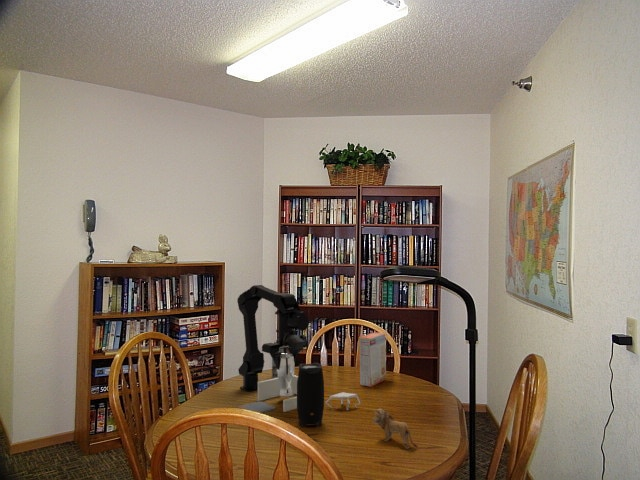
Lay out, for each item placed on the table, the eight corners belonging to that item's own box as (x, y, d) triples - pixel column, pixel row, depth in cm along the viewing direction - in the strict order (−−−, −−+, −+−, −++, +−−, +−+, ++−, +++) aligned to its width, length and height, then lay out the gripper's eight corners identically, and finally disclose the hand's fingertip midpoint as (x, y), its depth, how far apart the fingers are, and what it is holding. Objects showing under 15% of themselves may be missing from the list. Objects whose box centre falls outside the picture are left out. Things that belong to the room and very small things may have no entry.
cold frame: (257, 400, 183) (257, 382, 183) (291, 391, 194) (292, 374, 195) (284, 411, 170) (284, 392, 171) (319, 401, 182) (319, 383, 182)
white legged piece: (349, 402, 182) (349, 389, 182) (361, 408, 174) (361, 395, 174) (321, 407, 176) (321, 393, 176) (332, 414, 169) (332, 400, 169)
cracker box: (374, 377, 215) (374, 331, 215) (386, 380, 212) (386, 333, 212) (358, 385, 204) (358, 336, 204) (370, 387, 200) (370, 338, 200)
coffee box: (286, 383, 206) (286, 345, 207) (271, 383, 206) (271, 345, 207) (288, 377, 216) (288, 341, 216) (273, 377, 216) (274, 341, 216)
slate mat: (237, 408, 174) (237, 406, 174) (260, 402, 181) (260, 401, 181) (253, 415, 167) (253, 414, 167) (276, 409, 173) (276, 407, 173)
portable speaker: (320, 429, 154) (320, 369, 154) (292, 426, 157) (293, 367, 157) (327, 420, 162) (327, 363, 162) (301, 417, 165) (301, 361, 165)
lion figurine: (370, 439, 147) (370, 409, 147) (379, 433, 151) (379, 405, 151) (413, 452, 138) (413, 420, 138) (421, 446, 142) (421, 415, 142)
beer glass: (292, 398, 178) (291, 358, 177) (275, 397, 179) (273, 357, 179) (297, 391, 185) (296, 353, 184) (279, 390, 186) (278, 352, 186)
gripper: (279, 333, 170) (279, 376, 169) (317, 327, 182) (317, 367, 182) (261, 328, 178) (260, 370, 178) (299, 323, 190) (298, 362, 190)
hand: (285, 368), depth 182 cm, fingers closed on beer glass, 6 cm apart
